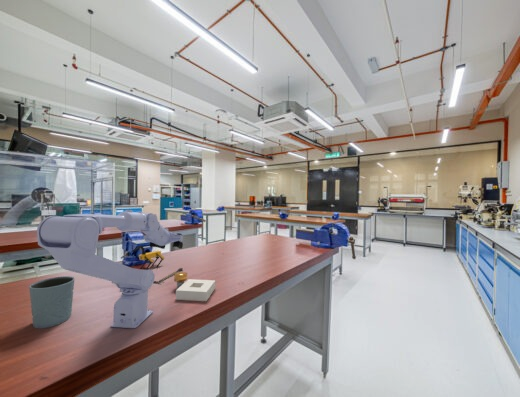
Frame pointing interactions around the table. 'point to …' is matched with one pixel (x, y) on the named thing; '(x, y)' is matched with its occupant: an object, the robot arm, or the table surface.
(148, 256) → the robot dog
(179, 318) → the table surface
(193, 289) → the pin block
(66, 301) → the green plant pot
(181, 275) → the brass door knob
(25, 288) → the table surface
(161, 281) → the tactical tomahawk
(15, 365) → the table surface
